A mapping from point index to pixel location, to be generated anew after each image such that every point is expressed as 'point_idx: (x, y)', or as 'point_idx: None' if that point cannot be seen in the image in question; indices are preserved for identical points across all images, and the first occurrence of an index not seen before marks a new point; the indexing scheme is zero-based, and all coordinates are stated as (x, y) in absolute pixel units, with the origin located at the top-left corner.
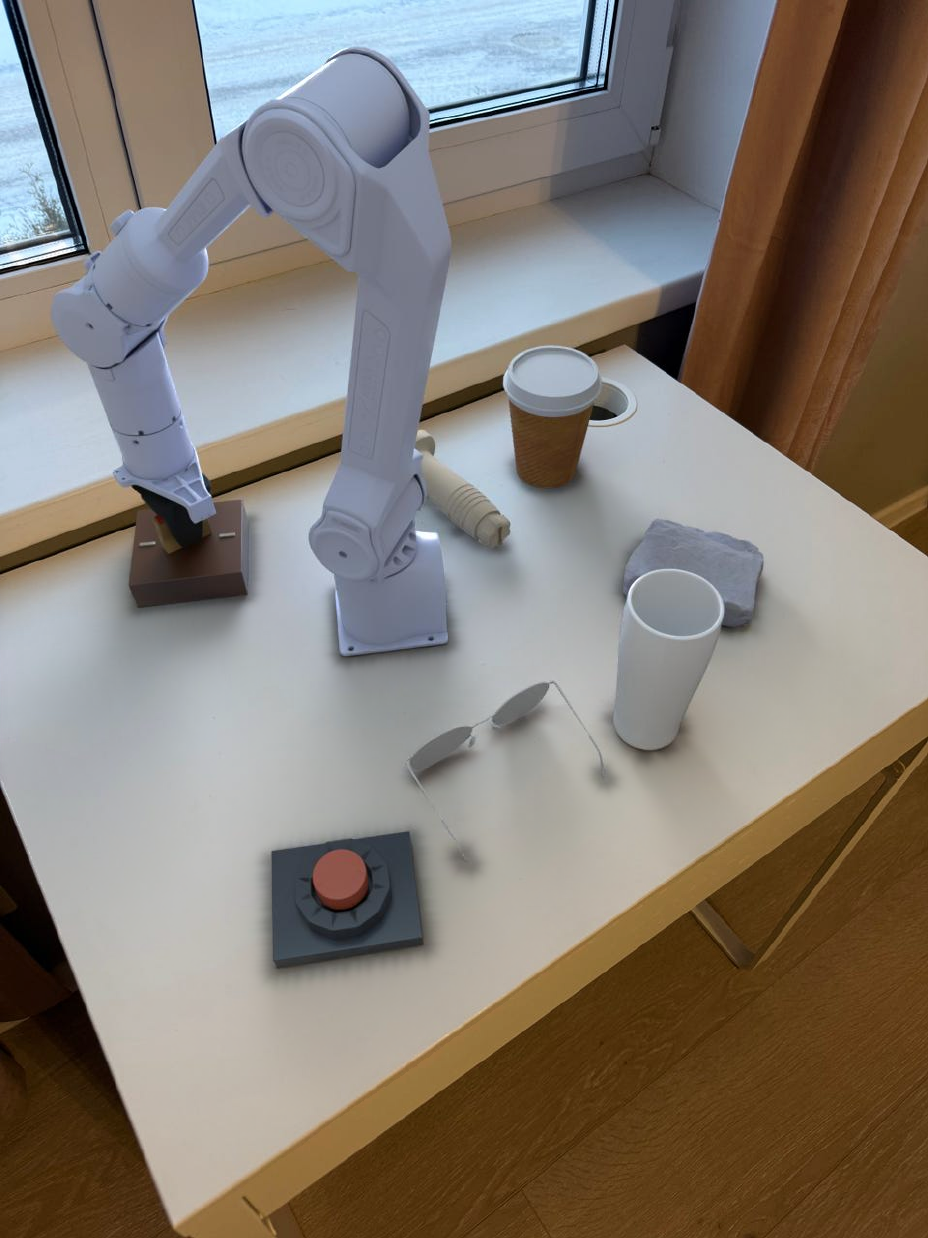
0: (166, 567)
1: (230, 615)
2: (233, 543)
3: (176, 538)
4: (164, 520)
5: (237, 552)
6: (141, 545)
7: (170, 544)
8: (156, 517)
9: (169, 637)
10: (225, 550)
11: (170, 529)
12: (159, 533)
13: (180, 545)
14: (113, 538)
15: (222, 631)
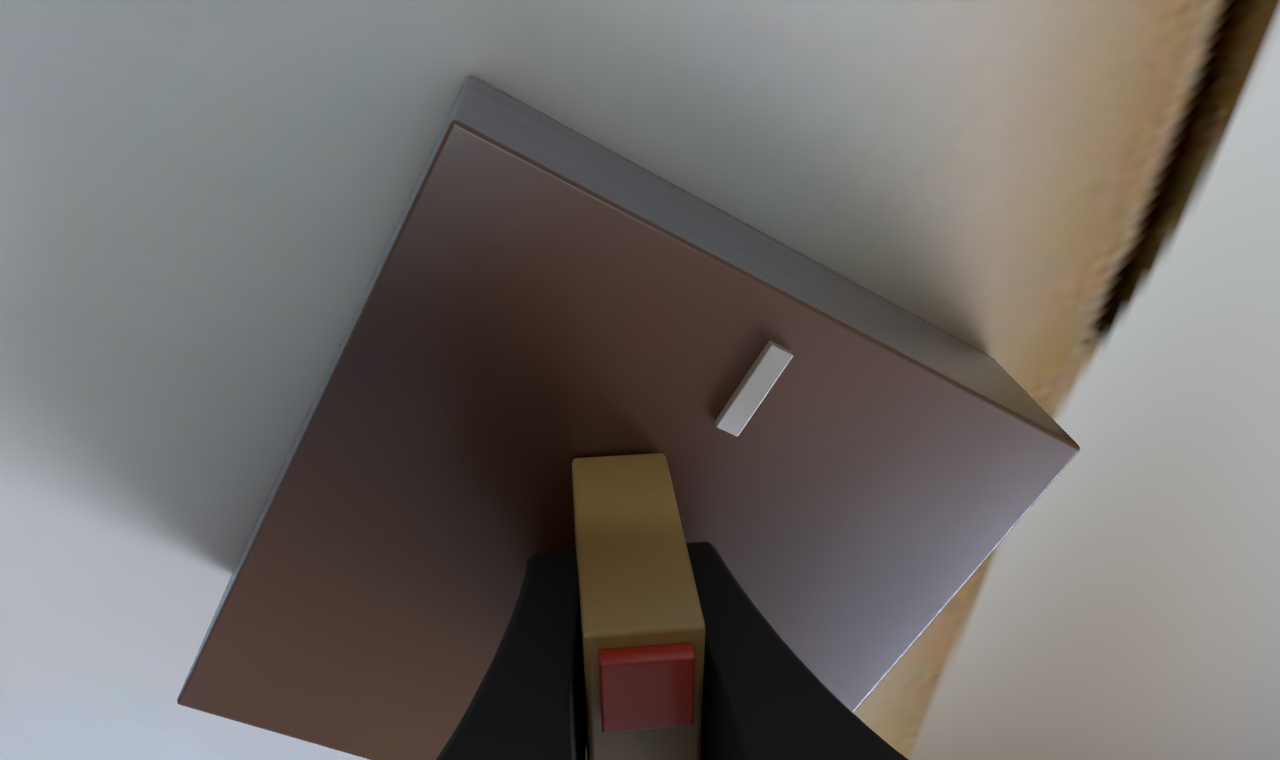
0: (464, 401)
1: (125, 461)
2: (431, 742)
3: (514, 614)
4: (511, 748)
5: (347, 736)
6: (762, 356)
7: (575, 526)
8: (669, 669)
9: (109, 127)
10: (402, 698)
11: (506, 678)
12: (627, 554)
13: (530, 566)
14: (1106, 197)
15: (20, 386)
